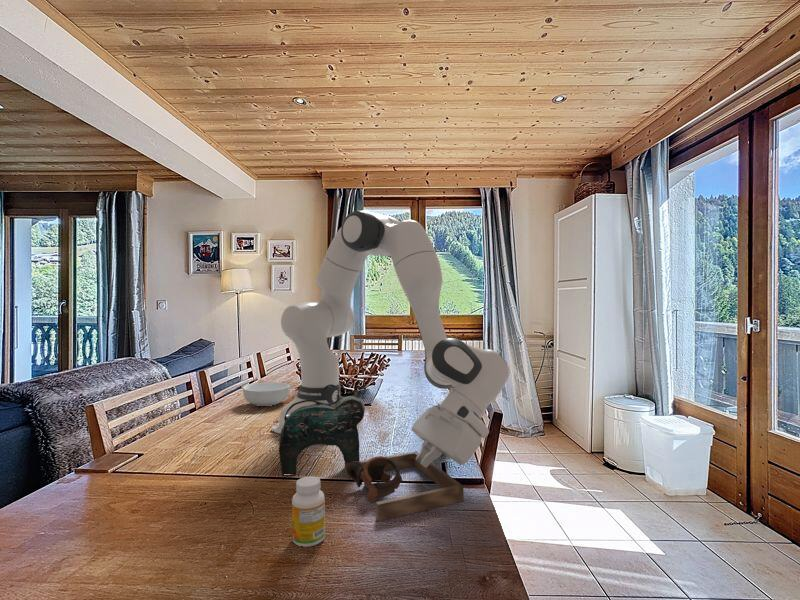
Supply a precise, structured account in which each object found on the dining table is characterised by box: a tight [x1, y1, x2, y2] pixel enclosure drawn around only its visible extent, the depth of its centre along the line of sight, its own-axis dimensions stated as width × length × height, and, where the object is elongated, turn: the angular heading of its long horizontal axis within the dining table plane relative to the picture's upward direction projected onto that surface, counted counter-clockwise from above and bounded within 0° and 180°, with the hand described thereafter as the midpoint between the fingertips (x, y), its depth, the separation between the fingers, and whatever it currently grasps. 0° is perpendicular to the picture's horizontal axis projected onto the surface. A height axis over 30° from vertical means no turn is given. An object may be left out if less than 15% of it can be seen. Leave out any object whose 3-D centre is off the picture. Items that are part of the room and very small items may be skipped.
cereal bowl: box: [242, 381, 291, 407], centre depth 163 cm, size 17×17×7 cm
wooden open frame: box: [344, 450, 464, 522], centre depth 91 cm, size 18×21×3 cm
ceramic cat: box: [278, 384, 366, 476], centre depth 101 cm, size 20×6×20 cm, turn 100°
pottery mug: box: [347, 455, 404, 503], centre depth 90 cm, size 12×10×8 cm
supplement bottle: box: [291, 476, 326, 548], centre depth 73 cm, size 5×5×10 cm
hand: (420, 463), depth 93 cm, fingers closed
